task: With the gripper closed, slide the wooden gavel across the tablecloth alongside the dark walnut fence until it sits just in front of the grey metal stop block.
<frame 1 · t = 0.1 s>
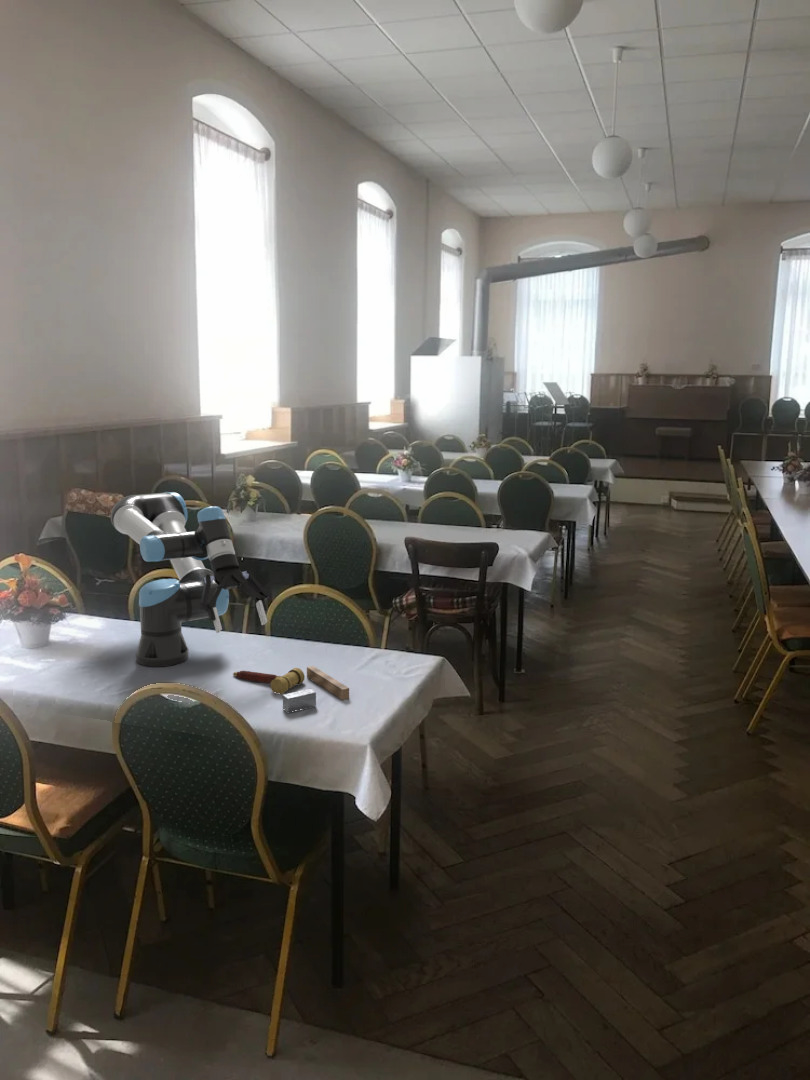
hand: (242, 627, 237), 15 cm above the table, tool tilted 35°, fingers open, 13 cm apart
walnut fence: (327, 687, 235), on the table
gavel: (263, 684, 238), on the table
metal stop: (299, 708, 220), on the table
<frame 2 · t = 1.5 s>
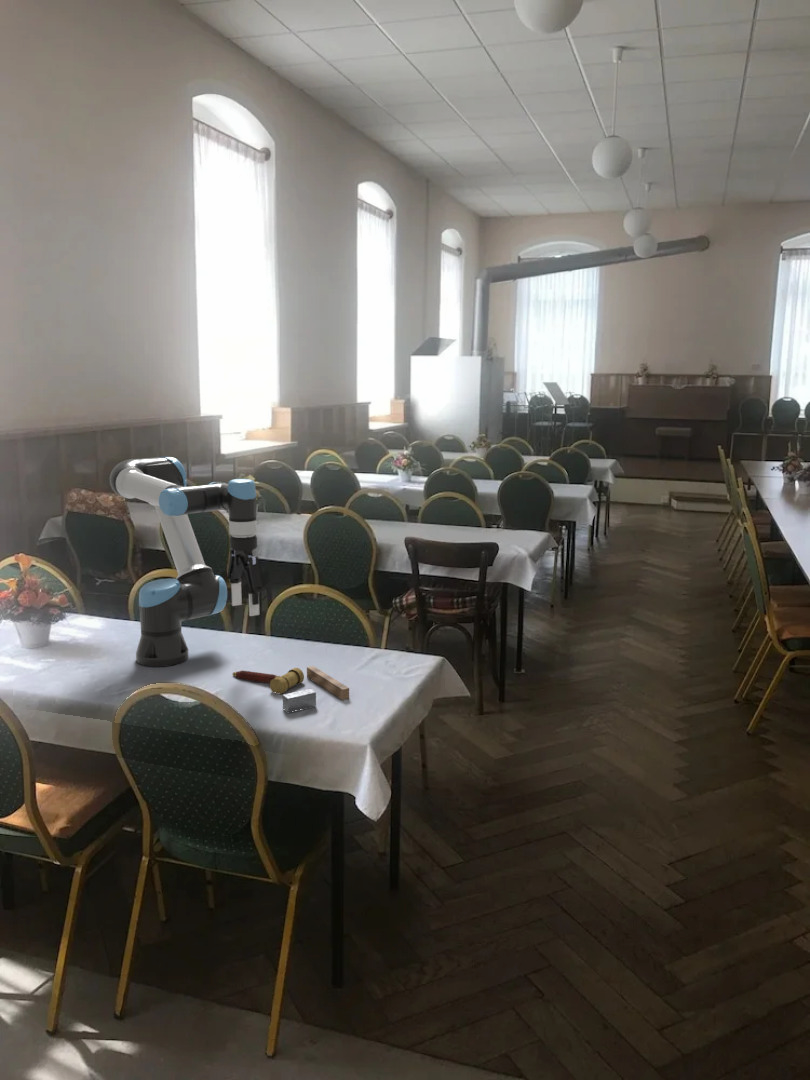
hand: (245, 610, 243), 18 cm above the table, tool pointing down, fingers open, 11 cm apart
nothing on the table moved.
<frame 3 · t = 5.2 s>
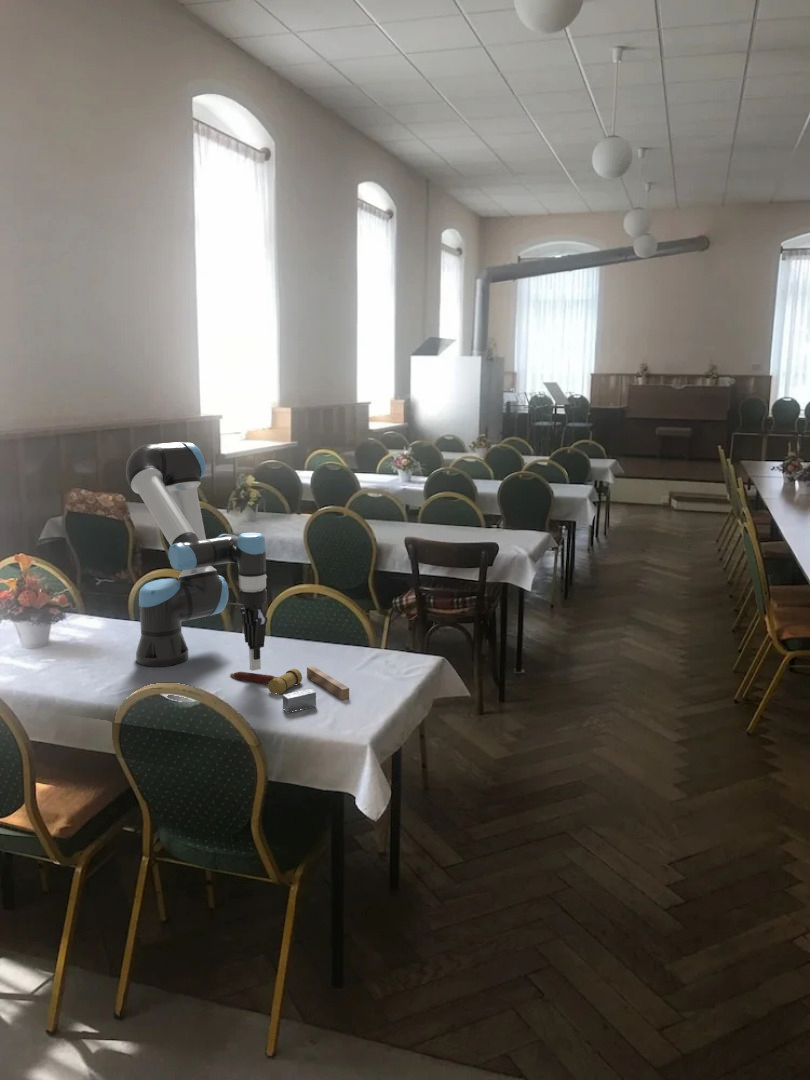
hand: (255, 669, 242), 2 cm above the table, tool pointing down, fingers closed
nothing on the table moved.
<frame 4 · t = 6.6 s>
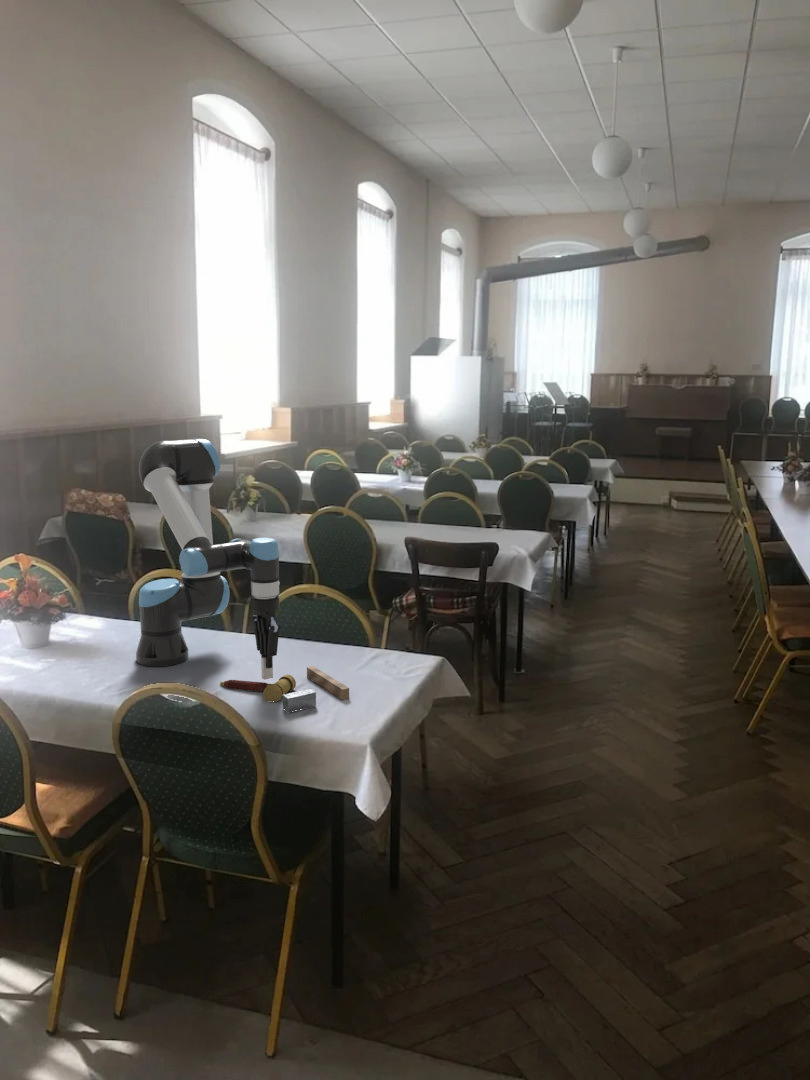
hand: (267, 677, 235), 2 cm above the table, tool pointing down, fingers closed
gavel: (253, 693, 232), on the table, touching gripper
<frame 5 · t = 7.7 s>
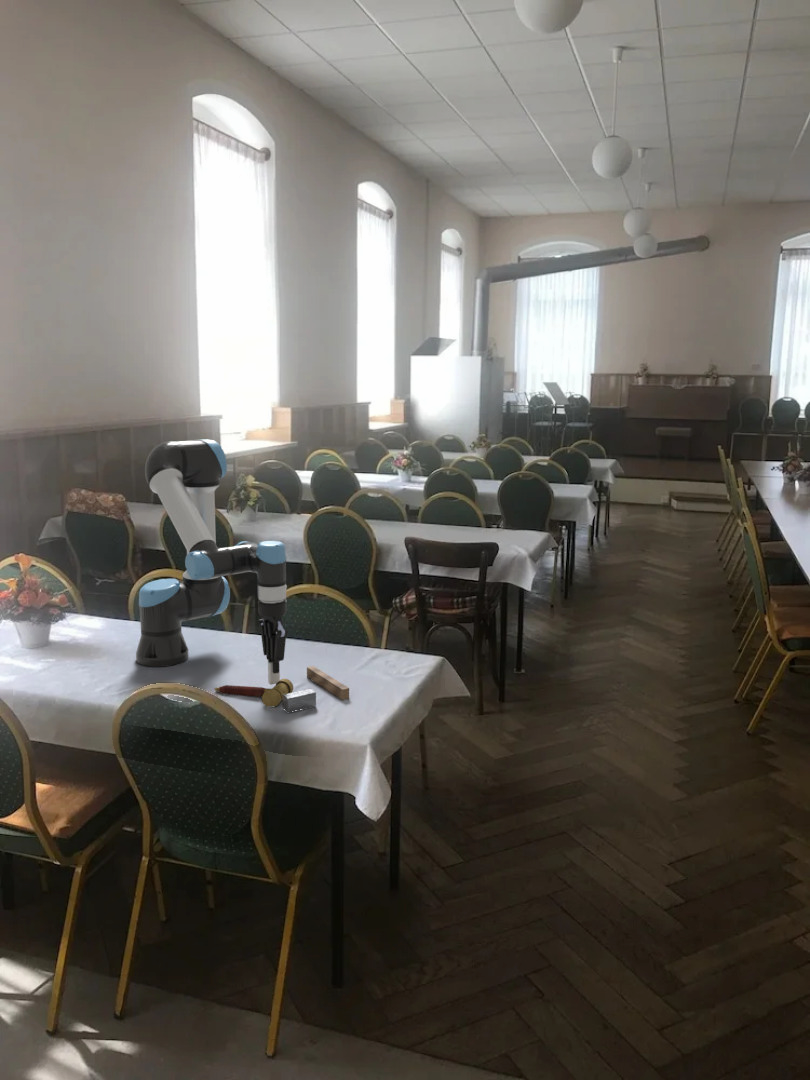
hand: (274, 682, 232), 2 cm above the table, tool pointing down, fingers closed
gavel: (250, 698, 228), on the table
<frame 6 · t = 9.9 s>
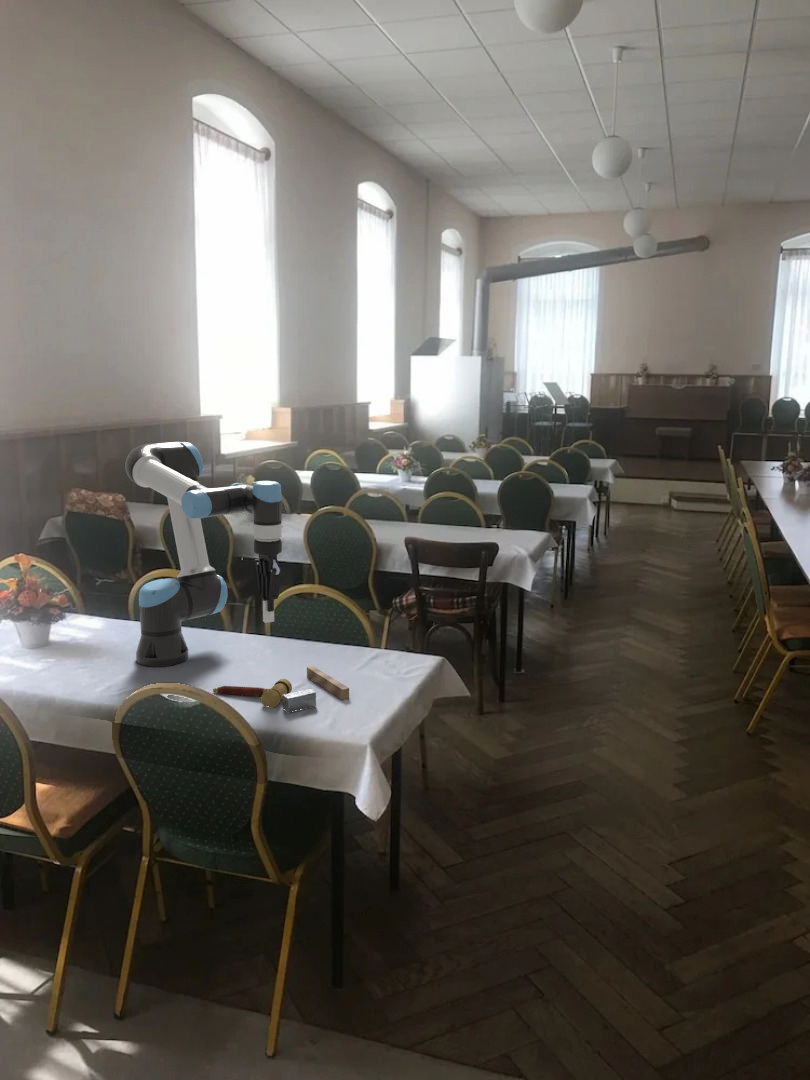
hand: (268, 621, 236), 17 cm above the table, tool pointing down, fingers closed
nothing on the table moved.
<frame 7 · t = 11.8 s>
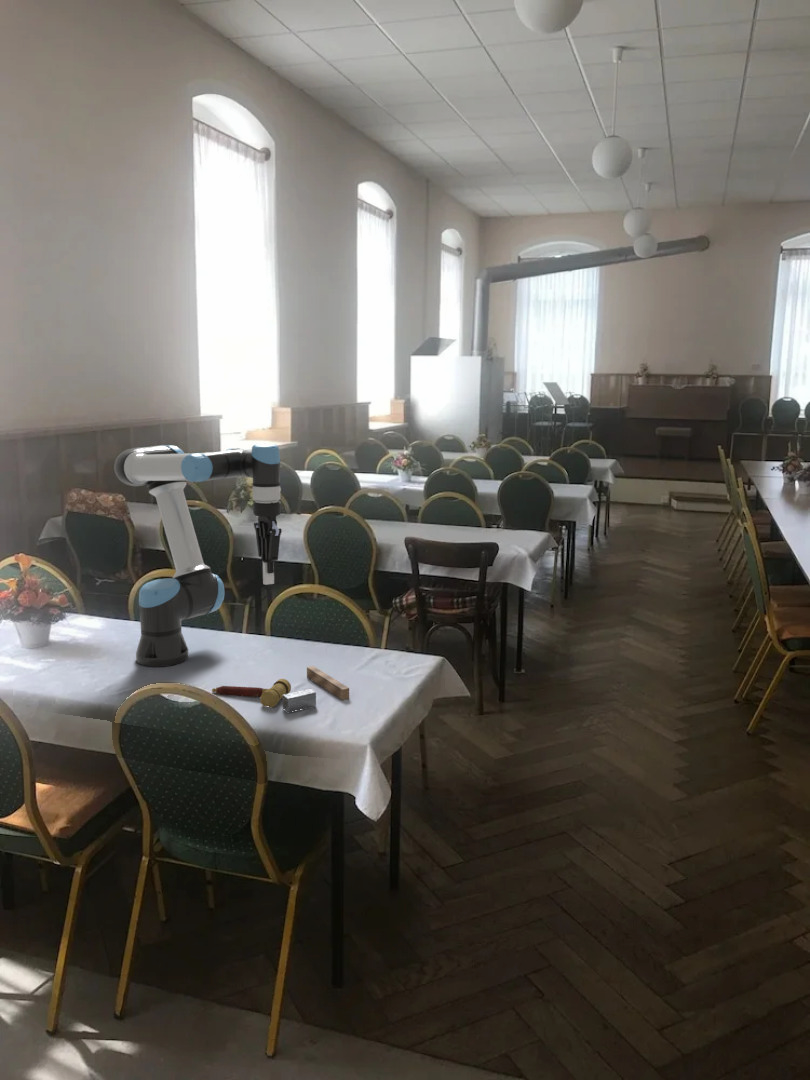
hand: (268, 583, 240), 26 cm above the table, tool pointing down, fingers closed
nothing on the table moved.
at the end: gavel inside the target area (10.0 cm from its centre), on the table; gavel moved 10.6 cm from its start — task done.
